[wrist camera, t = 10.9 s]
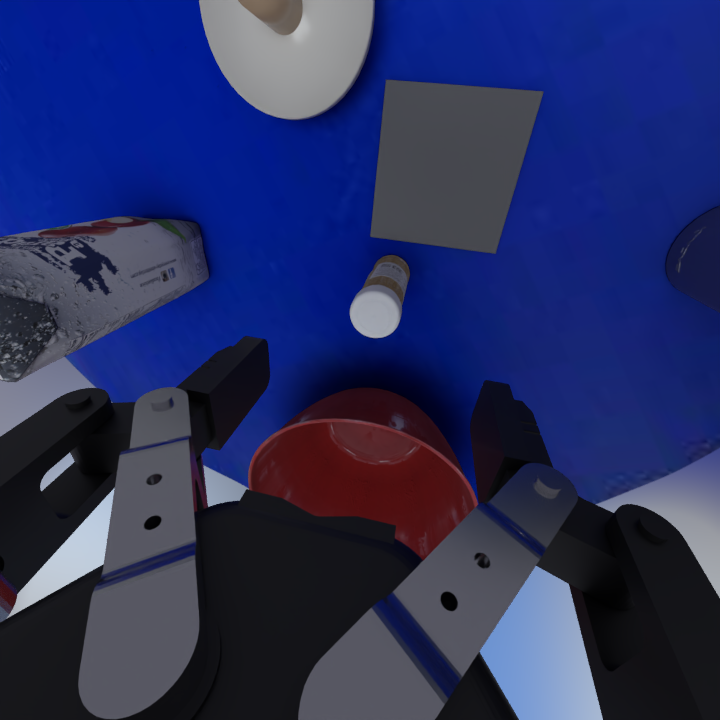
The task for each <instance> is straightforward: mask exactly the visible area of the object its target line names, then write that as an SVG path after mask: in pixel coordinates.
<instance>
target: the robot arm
mask: <svg viewBox="0 0 720 720" xmlns="http://www.w3.org/2000/svg"><path fill="white" fill-rule="evenodd" d="M666 273H667V276H668V278H669V281H670V282H671V283H672V285H673V286H674V287H675V288H677V289H678V290H679V291H681V292H683V293H684V294H686V295H688V296H690V297H692V298H694V299H696V300H697V301H699V302H701V303H703V304H705V305H706V306H708V307H710V308H712V309H714V310H716V311H718V312H719V313H720V206H719V207H717V208H714V209H712V210H710V211H708V212H707V213H705V214H703V215H702V216H700V217H699V218H697V219H696V220H695V221H693V222H692V223H691V224H690V225H688V226H687V227H686V228H685V230H684V231H683V232H682V233H681V234H680V235H679V236H678V238H677V239H676V240H675V242H674V243H673V245H672V247H671V249H670V251H669V254H668V257H667V262H666ZM269 379H270V367H269V352H268V343H267V341H266V340H265V339H260V338H255V337H249V336H245V337H243V338H242V339H241V340H240V341H239V342H238V343H237V344H236V345H235V346H233V347H232V346H229V347H227V348H225V349H223V350H220V351H218V352H217V353H215V354H214V355H213V356H212V357H211V358H210V359H209V360H208V361H206V362H205V363H204V364H203V365H202V366H201V367H199V368H198V369H197V370H196V371H195V372H193V373H192V374H191V375H190V376H189V377H188V378H186V379H185V380H184V381H183V382H182V383H181V384H180V385H178V386H177V387H176V388H172V387H169V388H161V389H157V390H153V391H151V392H148V393H147V394H145V395H143V396H142V397H141V398H139V399H138V400H137V402H128V403H111V400H110V398H109V395H108V393H107V392H106V391H105V390H102V389H99V388H86V389H80V390H76V391H73V392H70V393H67V394H65V395H63V396H61V397H59V398H57V399H56V400H54V401H53V402H51V403H50V404H48V405H47V406H45V407H44V408H43V409H41V410H40V411H38V412H37V413H35V414H34V415H32V416H31V417H29V418H28V419H26V420H25V421H23V422H22V423H20V424H19V425H17V426H16V427H14V428H13V429H12V430H10V431H8V432H7V433H5V434H4V435H2V436H1V437H0V720H519V719H518V717H517V716H516V714H515V712H514V710H513V709H512V707H511V705H510V704H509V702H508V700H507V699H506V697H505V695H504V693H503V692H502V690H501V688H500V687H499V685H498V683H497V681H496V679H495V678H494V676H493V674H492V673H491V671H490V669H489V668H488V666H487V664H486V662H485V661H484V659H483V657H482V655H481V654H480V652H479V651H480V649H481V648H482V647H483V645H484V644H485V642H486V640H487V639H488V637H489V636H490V634H491V633H492V631H493V630H494V628H495V627H496V625H497V624H498V622H499V621H500V619H501V618H502V616H503V615H504V613H505V612H506V610H507V609H508V607H509V606H510V604H511V603H512V601H513V599H514V598H515V596H516V595H517V593H518V592H519V590H520V589H521V587H522V586H523V584H524V583H525V581H526V580H527V578H528V577H529V575H530V574H531V572H532V571H533V569H534V568H535V566H538V567H540V568H542V569H543V570H545V571H547V572H549V573H550V574H552V575H554V576H556V577H558V578H560V579H561V580H563V581H565V582H567V583H569V586H570V590H571V594H572V598H573V602H574V606H575V610H576V614H577V618H578V621H579V625H580V630H581V634H582V638H583V641H584V646H585V650H586V653H587V658H588V662H589V665H590V669H591V673H592V677H593V681H594V685H595V689H596V693H597V697H598V701H599V705H600V709H601V713H602V717H603V720H720V598H719V596H718V595H717V593H716V591H715V590H714V588H713V586H712V585H711V583H710V581H709V580H708V578H707V576H706V574H705V573H704V571H703V569H702V568H701V566H700V564H699V563H698V561H697V559H696V557H695V556H694V554H693V552H692V551H691V549H690V547H689V546H688V544H687V542H686V541H685V539H684V538H683V536H682V535H681V534H680V532H679V531H678V530H677V529H676V528H675V527H674V526H673V525H672V524H671V523H669V522H668V521H667V520H666V519H664V518H663V517H661V516H660V515H658V514H657V513H655V512H653V511H651V510H649V509H647V508H644V507H641V506H638V505H633V504H626V505H622V506H620V507H619V508H618V509H617V510H616V511H615V513H612V512H610V511H608V510H606V509H604V508H601V507H599V506H597V505H595V504H593V503H591V502H588V501H586V500H584V499H582V498H581V497H579V496H578V494H577V491H576V489H575V487H574V485H573V484H572V483H571V481H570V480H569V479H568V478H567V477H566V476H565V475H563V474H562V473H561V472H559V471H558V470H556V469H554V468H553V466H552V463H551V461H550V458H549V455H548V453H547V450H546V447H545V445H544V442H543V439H542V437H541V435H540V431H539V429H538V426H536V424H537V423H536V421H535V418H534V415H533V413H532V411H531V410H530V409H529V408H528V407H527V406H526V405H525V404H524V403H523V401H518V400H514V398H513V395H512V392H511V389H510V386H509V384H505V383H500V382H494V381H489V380H485V382H484V383H483V386H482V388H481V391H480V394H479V397H478V400H477V403H476V405H475V408H474V411H473V414H472V418H471V424H470V433H471V442H472V450H473V459H474V467H475V476H476V484H477V492H478V501H479V504H478V505H477V506H476V507H475V508H474V509H473V510H472V511H471V512H470V513H469V514H468V515H467V516H466V517H465V518H464V519H463V521H462V522H461V523H460V524H459V525H458V526H457V527H456V528H455V529H454V530H453V531H452V532H451V533H450V534H449V535H448V536H447V537H446V538H445V539H444V540H443V541H442V542H441V543H440V544H439V545H438V546H437V547H436V548H435V549H434V550H433V551H432V552H431V553H430V554H429V555H428V556H427V557H426V558H425V559H424V560H422V559H421V557H420V556H419V555H418V554H416V553H415V552H414V551H413V550H412V549H411V548H409V547H408V546H407V545H405V544H404V543H402V542H401V541H399V540H397V539H395V531H396V525H392V524H388V523H384V522H380V521H375V520H371V519H367V518H363V517H359V516H315V515H312V514H311V513H309V512H307V511H305V510H303V509H301V508H300V507H298V506H296V505H294V504H292V503H290V502H289V501H287V500H285V499H283V498H280V497H276V496H272V495H268V494H264V493H260V492H256V491H252V490H246V491H245V493H244V495H243V496H242V498H241V500H240V501H232V502H225V503H220V504H216V505H213V506H210V507H208V504H207V495H206V486H205V477H204V468H203V459H202V455H201V453H202V452H203V451H204V450H205V448H206V447H207V448H211V449H215V450H220V449H221V448H222V447H223V445H224V444H225V443H226V441H227V440H228V439H229V437H230V436H231V435H232V433H233V432H234V431H235V430H236V428H237V427H238V426H239V424H240V423H241V422H242V420H243V419H244V418H245V416H246V415H247V414H248V412H249V411H250V410H251V408H252V407H253V406H254V404H255V403H256V402H257V400H258V399H259V398H260V396H261V395H262V394H263V392H264V391H265V390H266V388H267V386H268V383H269ZM69 452H70V453H71V455H72V457H73V459H74V461H75V462H74V463H73V464H72V465H71V466H70V467H68V468H67V469H66V470H65V471H64V472H63V473H62V474H61V475H60V476H58V477H57V478H56V479H55V480H54V481H53V482H52V483H51V484H50V485H48V486H47V487H46V488H45V489H44V490H43V491H42V492H41V490H40V483H41V480H42V478H43V476H44V475H45V474H46V472H47V471H48V470H50V469H51V468H52V467H53V466H54V465H55V464H57V463H58V462H59V461H60V460H61V459H62V458H64V457H65V456H66V455H67V454H68V453H69ZM114 487H115V490H114V497H113V505H112V512H111V518H110V525H109V532H108V539H107V546H106V553H105V560H104V564H103V565H102V566H100V567H98V568H96V569H95V570H93V571H91V572H89V573H87V574H86V575H84V576H82V577H80V578H78V579H77V580H75V581H73V582H71V583H70V584H68V585H66V586H64V587H62V588H61V589H59V590H57V591H55V592H54V593H52V594H50V595H48V596H46V597H45V598H43V599H41V600H39V601H38V602H36V603H34V604H32V605H30V606H29V607H27V608H25V609H23V610H21V611H20V612H18V613H16V614H14V615H13V616H11V617H9V618H7V617H8V616H9V614H10V612H11V611H12V609H13V607H14V605H15V602H16V599H17V594H18V593H19V591H20V590H21V589H22V588H23V587H24V586H25V585H26V584H27V583H28V582H29V581H30V579H31V578H32V577H33V576H34V575H35V574H36V573H37V572H38V571H39V570H40V568H41V567H42V566H43V565H44V564H45V563H46V562H47V561H48V559H50V557H51V556H52V555H53V554H54V553H55V552H56V551H57V550H58V549H59V548H60V546H61V545H62V544H63V543H64V542H65V541H66V540H67V539H68V538H69V537H70V535H71V534H72V533H73V532H74V531H75V530H76V529H77V528H78V527H79V526H80V525H81V524H82V522H83V521H84V520H85V519H86V518H87V517H88V516H89V515H90V514H91V513H92V511H93V510H94V509H95V508H96V507H97V506H98V505H99V504H100V503H101V501H102V500H103V499H104V498H105V497H106V496H107V495H108V494H109V493H110V492H111V491H112V490H113V488H114ZM6 618H7V619H6Z"/></svg>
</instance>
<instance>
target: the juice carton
mask: <svg viewBox="0 0 720 720" xmlns="http://www.w3.org/2000/svg"><path fill="white" fill-rule="evenodd" d="M208 278H209V272H208V267H207V263H206V259H205V255H204V250H203V244H202V238H201V233H200V228H199V225H198V224H197V223H194V222H188V221H180V220H171V219H149V218H141V217H131V216H122V217H114V218H108V219H102V220H96V221H90V222H84V223H79V224H73V225H67V226H61V227H56V228H50V229H44V230H38V231H32V232H27V233H21V234H15V235H9V236H4V237H0V380H1V381H6V382H17V381H19V380H21V379H23V378H24V377H26V376H28V375H30V374H31V373H33V372H35V371H37V370H39V369H41V368H42V367H44V366H46V365H48V364H50V363H52V362H54V361H56V360H58V359H60V358H62V357H64V356H66V355H68V354H70V353H72V352H74V351H76V350H78V349H80V348H82V347H84V346H86V345H88V344H89V343H91V342H93V341H95V340H97V339H99V338H101V337H103V336H105V335H107V334H109V333H110V332H112V331H114V330H116V329H118V328H120V327H122V326H124V325H126V324H128V323H130V322H132V321H133V320H135V319H137V318H139V317H141V316H143V315H145V314H147V313H149V312H151V311H153V310H155V309H156V308H158V307H160V306H162V305H164V304H166V303H168V302H170V301H172V300H174V299H176V298H177V297H179V296H181V295H183V294H185V293H187V292H188V291H190V290H192V289H193V288H195V287H197V286H198V285H200V284H201V283H203V282H204V281H206V280H207V279H208Z"/></svg>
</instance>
